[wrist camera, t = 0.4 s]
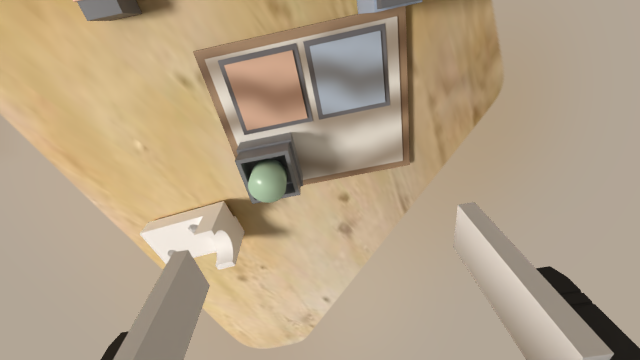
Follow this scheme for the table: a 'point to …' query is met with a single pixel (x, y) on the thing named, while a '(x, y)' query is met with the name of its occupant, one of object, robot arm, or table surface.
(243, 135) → the wood rimmed sorting board
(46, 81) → the table surface
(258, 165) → the button
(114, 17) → the terracotta marker
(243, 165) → the button housing
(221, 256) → the bracket
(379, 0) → the grey square prism
